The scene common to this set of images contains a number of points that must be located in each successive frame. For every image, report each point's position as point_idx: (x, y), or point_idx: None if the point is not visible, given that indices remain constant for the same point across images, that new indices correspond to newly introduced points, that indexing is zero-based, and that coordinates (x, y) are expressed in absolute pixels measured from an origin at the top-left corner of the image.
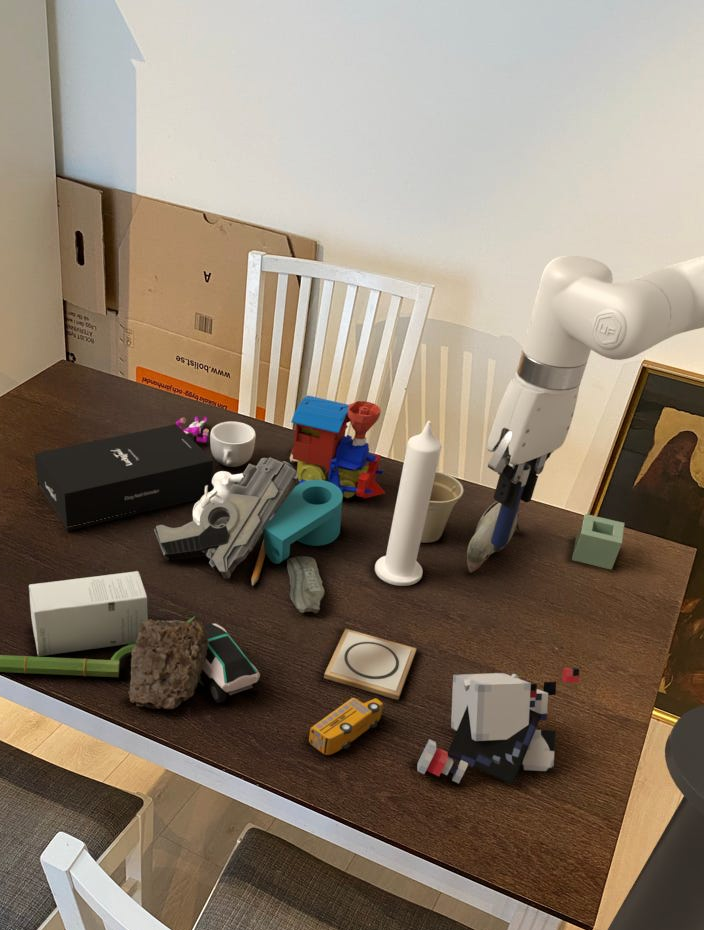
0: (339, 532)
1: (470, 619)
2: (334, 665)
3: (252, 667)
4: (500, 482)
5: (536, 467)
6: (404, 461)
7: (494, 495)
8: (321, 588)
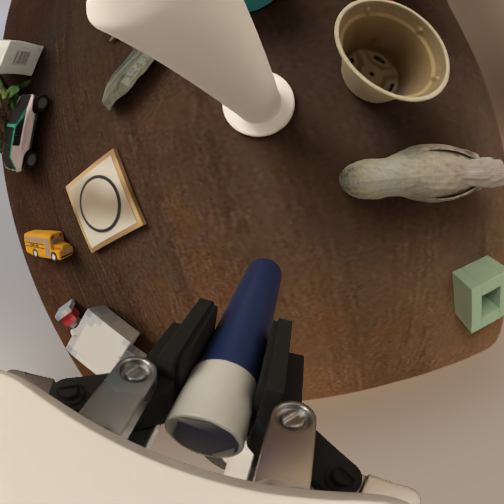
0: (261, 6)
1: (246, 236)
2: (74, 185)
3: (13, 165)
4: (150, 354)
5: (250, 465)
6: None
7: (199, 301)
8: (131, 83)
